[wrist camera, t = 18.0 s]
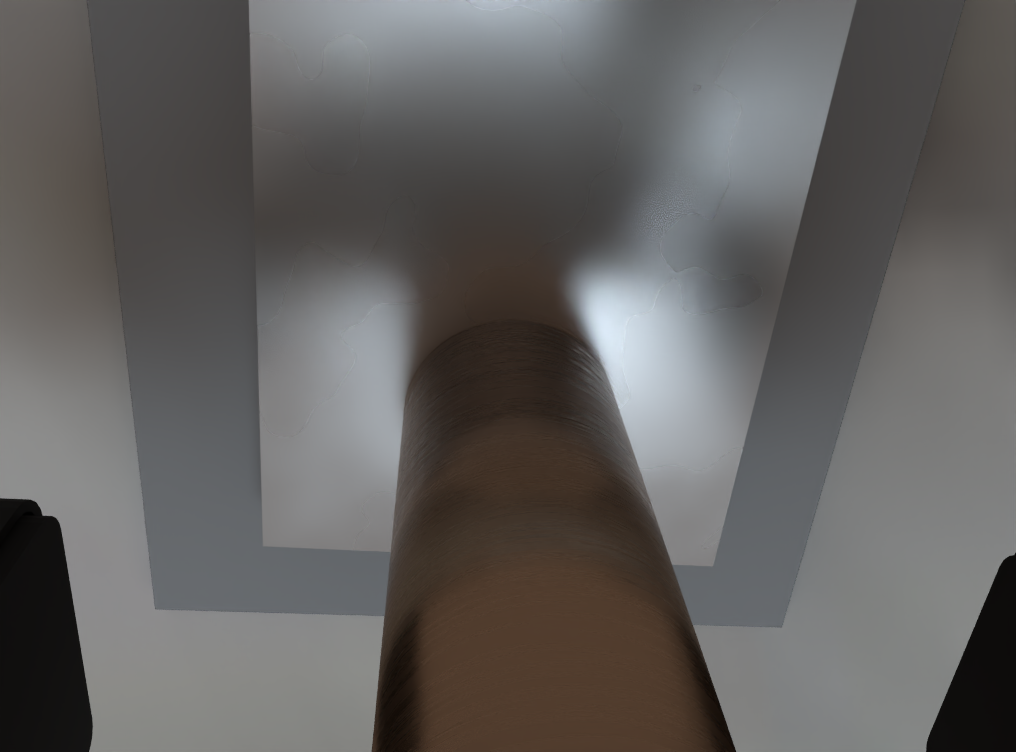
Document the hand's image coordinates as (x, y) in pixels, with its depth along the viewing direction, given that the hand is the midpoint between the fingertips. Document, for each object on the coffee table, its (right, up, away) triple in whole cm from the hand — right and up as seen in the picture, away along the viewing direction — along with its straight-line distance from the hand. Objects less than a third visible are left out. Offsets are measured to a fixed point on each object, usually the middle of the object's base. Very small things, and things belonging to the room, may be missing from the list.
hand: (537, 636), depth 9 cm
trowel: (0, +5, +3) cm, 6 cm away
